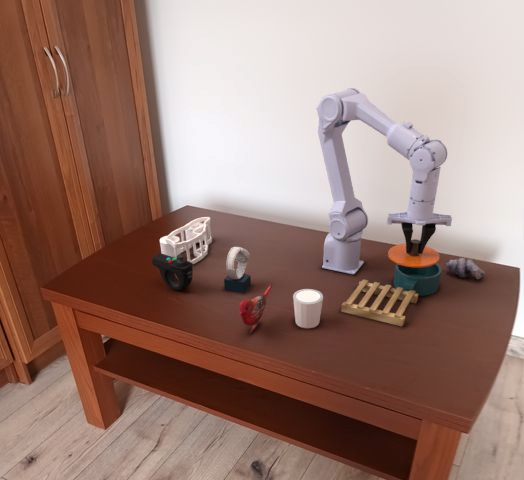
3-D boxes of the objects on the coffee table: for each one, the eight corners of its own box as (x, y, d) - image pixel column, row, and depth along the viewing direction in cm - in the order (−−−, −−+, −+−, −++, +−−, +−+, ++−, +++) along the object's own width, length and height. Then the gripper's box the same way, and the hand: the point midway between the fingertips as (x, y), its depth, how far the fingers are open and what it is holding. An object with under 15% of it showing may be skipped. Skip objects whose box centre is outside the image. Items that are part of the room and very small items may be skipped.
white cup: (313, 332, 120) (314, 306, 116) (287, 324, 123) (287, 298, 119) (327, 318, 125) (328, 292, 121) (301, 311, 128) (301, 285, 124)
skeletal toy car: (197, 236, 165) (195, 213, 160) (226, 243, 160) (224, 220, 155) (154, 261, 151) (150, 237, 147) (183, 270, 146) (180, 246, 142)
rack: (341, 311, 127) (341, 302, 126) (359, 287, 136) (360, 278, 135) (402, 326, 121) (403, 317, 120) (417, 300, 130) (419, 291, 129)
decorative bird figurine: (235, 343, 118) (233, 304, 112) (267, 304, 131) (266, 268, 125) (247, 345, 117) (245, 307, 111) (277, 306, 130) (277, 270, 124)
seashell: (482, 283, 139) (444, 276, 143) (488, 263, 138) (449, 257, 143) (481, 279, 134) (441, 272, 138) (487, 258, 134) (447, 252, 138)
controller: (187, 297, 135) (182, 261, 129) (153, 284, 141) (147, 249, 135) (198, 290, 137) (194, 255, 132) (164, 277, 143) (159, 243, 138)
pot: (384, 294, 133) (386, 277, 130) (403, 267, 145) (405, 250, 142) (429, 304, 129) (432, 287, 126) (444, 275, 140) (448, 258, 137)
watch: (253, 282, 140) (252, 243, 134) (241, 296, 134) (239, 257, 128) (234, 278, 142) (232, 240, 135) (221, 292, 136) (218, 253, 129)
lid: (381, 263, 128) (383, 246, 125) (395, 244, 136) (397, 227, 134) (432, 274, 123) (435, 256, 120) (443, 252, 132) (447, 236, 129)
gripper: (391, 203, 118) (384, 258, 126) (458, 204, 117) (446, 260, 125) (389, 192, 124) (383, 245, 132) (453, 193, 122) (442, 247, 130)
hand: (413, 252), depth 129 cm, fingers closed on lid, 2 cm apart
